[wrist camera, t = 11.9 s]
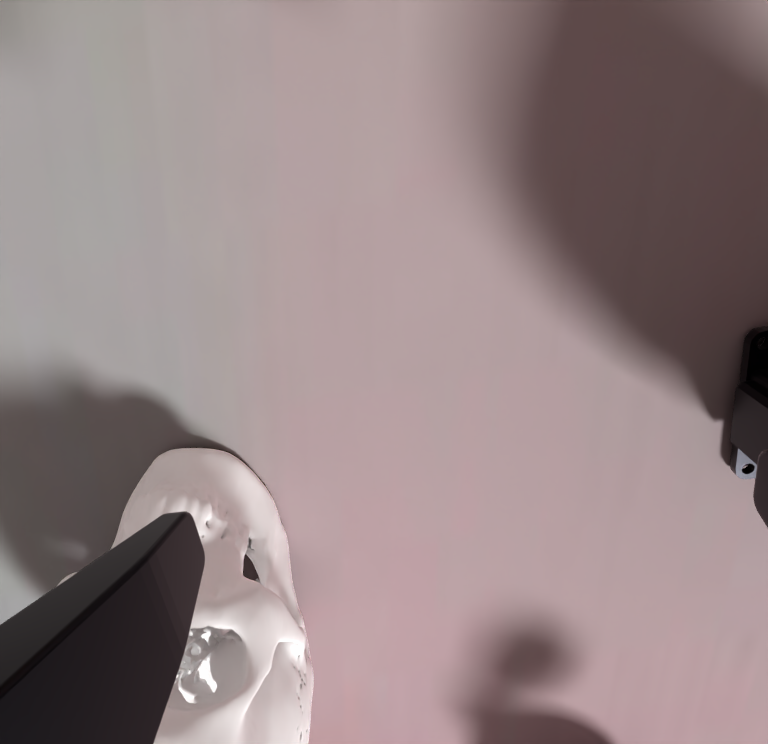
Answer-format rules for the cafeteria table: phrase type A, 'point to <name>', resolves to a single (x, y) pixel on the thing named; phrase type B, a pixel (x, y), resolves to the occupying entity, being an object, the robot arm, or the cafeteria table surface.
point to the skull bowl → (231, 606)
